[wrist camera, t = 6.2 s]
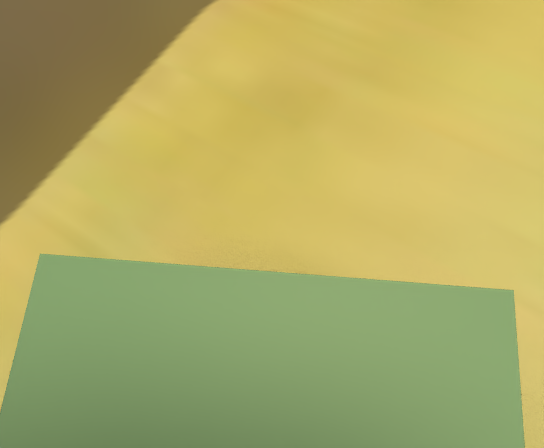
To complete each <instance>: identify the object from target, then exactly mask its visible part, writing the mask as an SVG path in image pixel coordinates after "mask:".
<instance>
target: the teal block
mask: <svg viewBox="0 0 544 448" xmlns="http://www.w3.org/2000/svg"><path fill="white" fill-rule="evenodd" d="M0 448H525V443H524V429H523V415H522V401H521V387H520V373H519V359H518V345H517V332H516V318H515V304H514V290H504V289H491V288H478V287H465V286H452V285H439V284H426V283H413V282H400V281H387V280H374V279H361V278H348V277H335V276H322V275H310V274H297V273H284V272H271V271H258V270H245V269H232V268H219V267H206V266H193V265H180V264H167V263H154V262H141V261H128V260H115V259H102V258H89V257H76V256H63V255H50V254H40V256H39V260H38V264H37V268H36V272H35V276H34V280H33V284H32V288H31V292H30V296H29V300H28V304H27V308H26V312H25V316H24V320H23V324H22V328H21V332H20V336H19V340H18V344H17V348H16V352H15V356H14V360H13V363H12V367H11V371H10V375H9V379H8V383H7V387H6V391H5V395H4V399H3V403H2V407H1V411H0Z"/></svg>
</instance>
